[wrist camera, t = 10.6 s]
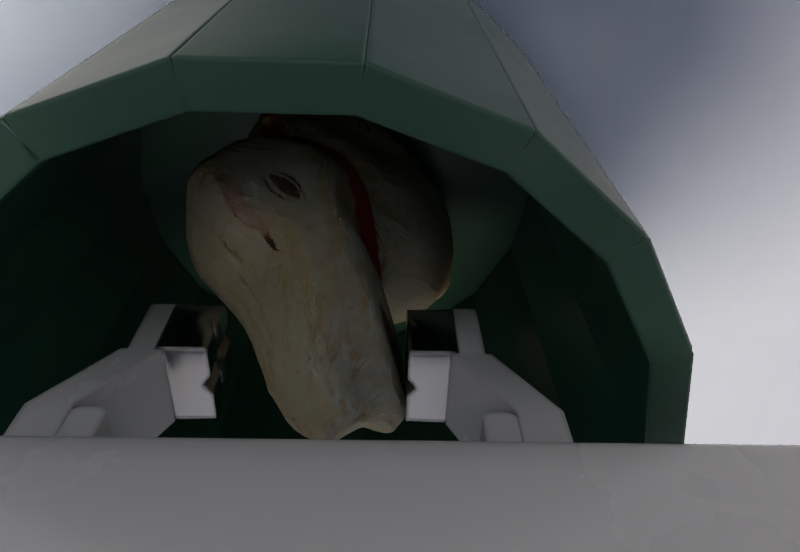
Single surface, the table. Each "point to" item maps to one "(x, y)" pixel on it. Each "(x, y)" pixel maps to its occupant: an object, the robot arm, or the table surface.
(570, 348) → the pot
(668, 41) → the table surface
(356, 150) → the chocolate bunny
